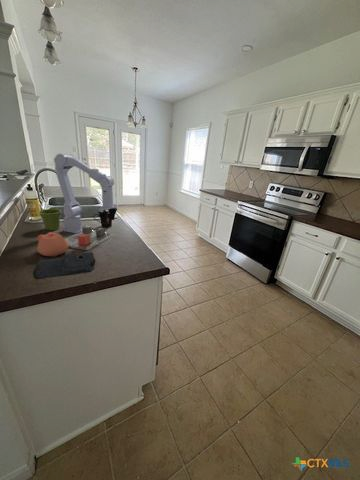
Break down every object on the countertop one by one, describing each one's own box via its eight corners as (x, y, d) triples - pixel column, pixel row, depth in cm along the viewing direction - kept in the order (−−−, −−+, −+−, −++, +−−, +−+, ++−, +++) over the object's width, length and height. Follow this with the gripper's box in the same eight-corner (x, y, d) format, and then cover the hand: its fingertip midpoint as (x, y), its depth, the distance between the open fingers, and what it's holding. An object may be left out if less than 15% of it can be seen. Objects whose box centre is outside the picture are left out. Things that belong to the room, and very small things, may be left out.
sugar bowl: (55, 260, 89) (52, 239, 86) (28, 255, 91) (24, 234, 88) (74, 249, 100) (72, 230, 97) (50, 245, 103) (46, 226, 99)
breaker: (82, 233, 118) (82, 227, 116) (87, 231, 121) (86, 225, 120) (87, 234, 117) (86, 228, 116) (91, 232, 121) (91, 226, 119)
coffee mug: (115, 225, 142) (114, 211, 138) (110, 228, 134) (109, 214, 130) (99, 223, 143) (98, 209, 139) (93, 227, 135) (92, 212, 131)
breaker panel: (57, 244, 104) (56, 241, 103) (87, 231, 126) (87, 228, 125) (87, 250, 101) (87, 246, 100) (113, 235, 123) (113, 232, 122)
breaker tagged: (96, 235, 116) (95, 229, 115) (100, 233, 120) (99, 227, 118) (100, 236, 115) (100, 230, 114) (105, 234, 119) (104, 228, 118)
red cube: (78, 244, 103) (77, 236, 102) (83, 241, 107) (83, 233, 105) (85, 245, 102) (84, 237, 101) (90, 242, 106) (89, 234, 104)
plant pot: (36, 229, 122) (33, 211, 118) (53, 225, 132) (50, 208, 128) (52, 233, 119) (49, 214, 115) (67, 227, 130) (65, 210, 126)
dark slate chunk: (38, 263, 87) (37, 253, 85) (93, 256, 96) (93, 247, 95) (33, 281, 74) (30, 270, 72) (97, 272, 84) (96, 261, 82)
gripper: (106, 201, 108) (107, 225, 113) (120, 197, 121) (120, 219, 126) (95, 199, 109) (96, 223, 114) (109, 196, 123) (110, 217, 127)
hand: (108, 221), depth 120 cm, fingers open, 7 cm apart
